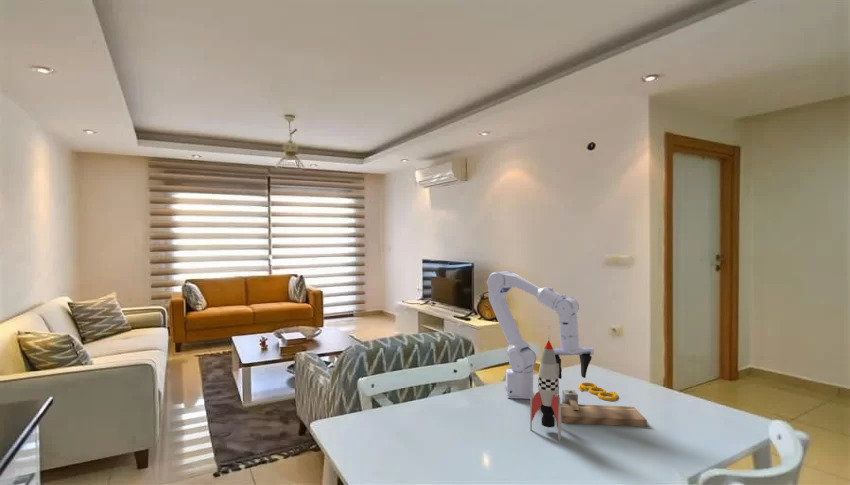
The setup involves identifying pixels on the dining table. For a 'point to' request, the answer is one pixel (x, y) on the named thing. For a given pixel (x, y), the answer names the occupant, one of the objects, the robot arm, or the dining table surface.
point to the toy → (547, 391)
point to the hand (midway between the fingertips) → (571, 377)
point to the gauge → (570, 398)
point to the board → (602, 415)
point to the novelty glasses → (600, 394)
